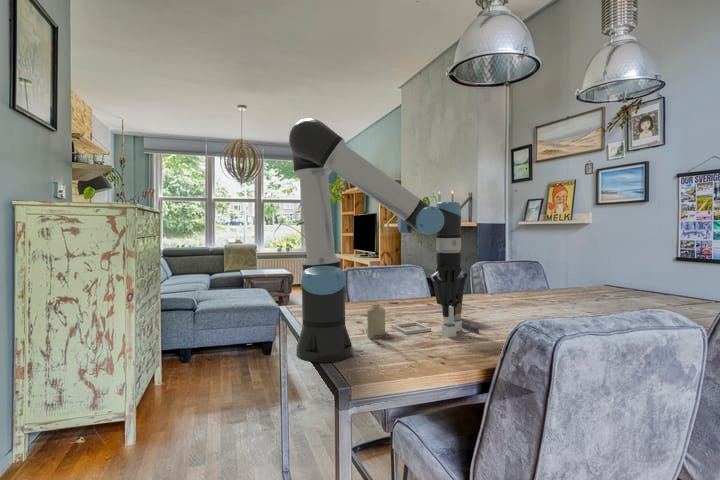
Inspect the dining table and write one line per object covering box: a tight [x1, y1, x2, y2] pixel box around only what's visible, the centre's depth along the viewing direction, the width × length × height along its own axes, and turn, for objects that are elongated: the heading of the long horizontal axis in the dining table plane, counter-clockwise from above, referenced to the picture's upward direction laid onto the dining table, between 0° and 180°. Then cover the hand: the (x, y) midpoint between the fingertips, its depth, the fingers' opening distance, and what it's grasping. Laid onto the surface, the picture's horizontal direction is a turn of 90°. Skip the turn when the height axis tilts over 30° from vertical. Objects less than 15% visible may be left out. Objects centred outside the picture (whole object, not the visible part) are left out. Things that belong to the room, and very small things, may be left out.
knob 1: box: [441, 322, 457, 338], centre depth 123 cm, size 3×3×4 cm
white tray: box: [390, 321, 480, 339], centre depth 129 cm, size 22×18×3 cm
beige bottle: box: [366, 304, 386, 340], centre depth 128 cm, size 6×6×10 cm
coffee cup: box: [440, 283, 464, 320], centre depth 145 cm, size 8×8×15 cm
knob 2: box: [454, 318, 463, 332], centre depth 129 cm, size 3×3×4 cm
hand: (449, 326), depth 128 cm, fingers closed
